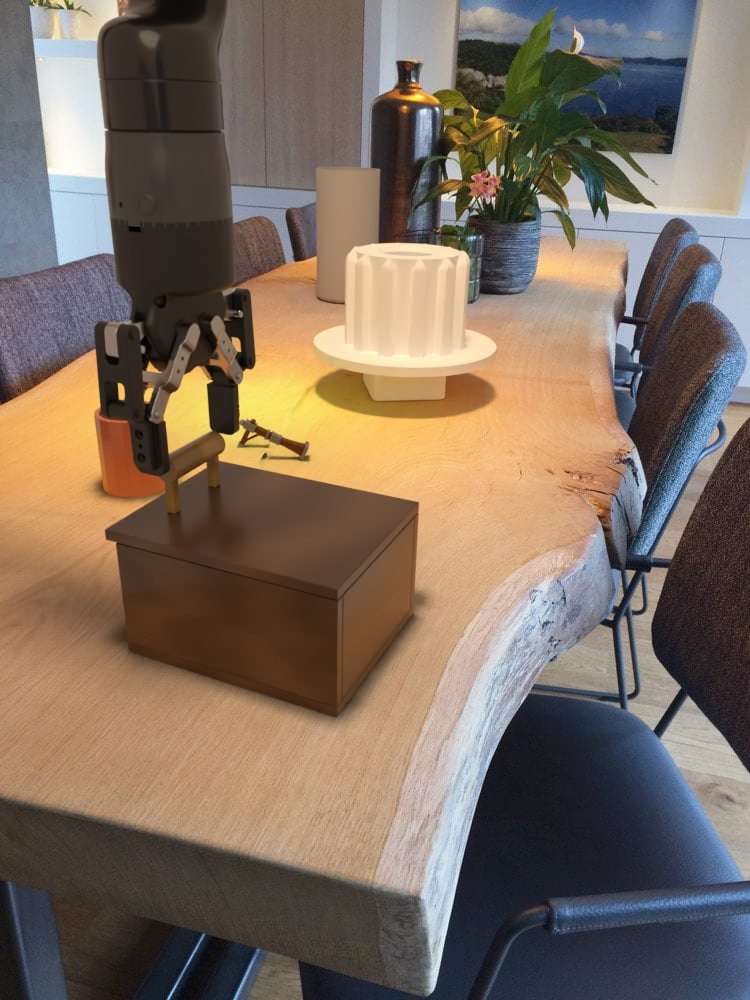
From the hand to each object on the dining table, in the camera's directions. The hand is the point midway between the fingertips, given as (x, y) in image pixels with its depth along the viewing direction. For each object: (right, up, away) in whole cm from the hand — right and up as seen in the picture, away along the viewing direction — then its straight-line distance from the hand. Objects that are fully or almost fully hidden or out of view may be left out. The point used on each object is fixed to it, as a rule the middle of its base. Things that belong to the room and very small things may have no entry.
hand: (191, 451), depth 59 cm
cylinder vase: (+7, +38, +114) cm, 120 cm away
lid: (+6, -5, 0) cm, 8 cm away
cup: (-11, -3, +24) cm, 27 cm away
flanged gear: (+17, +12, +58) cm, 62 cm away
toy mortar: (+2, +1, +34) cm, 34 cm away
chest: (+6, -13, +3) cm, 15 cm away
